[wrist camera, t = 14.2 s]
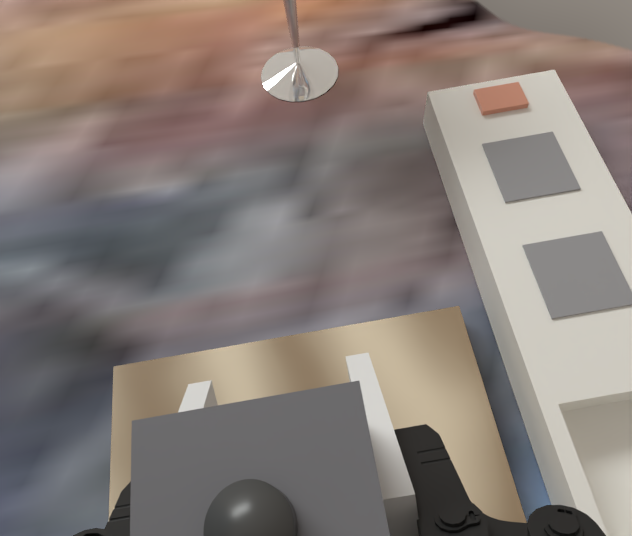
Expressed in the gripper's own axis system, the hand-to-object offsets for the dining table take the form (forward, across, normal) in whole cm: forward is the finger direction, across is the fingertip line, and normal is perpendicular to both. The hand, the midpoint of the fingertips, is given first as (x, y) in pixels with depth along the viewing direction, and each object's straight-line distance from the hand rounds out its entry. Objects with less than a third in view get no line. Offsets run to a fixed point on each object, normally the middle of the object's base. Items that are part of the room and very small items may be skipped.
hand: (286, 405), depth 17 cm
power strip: (+8, +13, -1) cm, 15 cm away
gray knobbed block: (0, 0, -5) cm, 5 cm away
